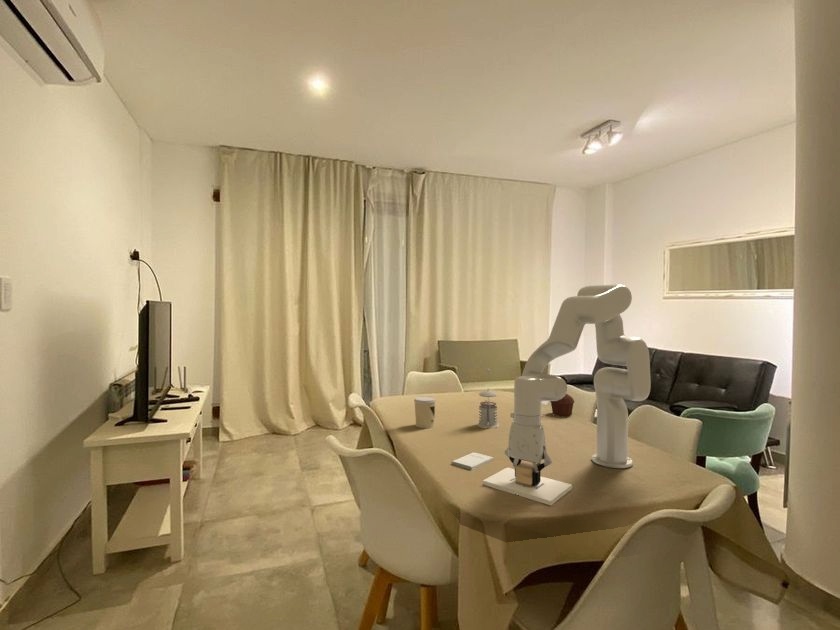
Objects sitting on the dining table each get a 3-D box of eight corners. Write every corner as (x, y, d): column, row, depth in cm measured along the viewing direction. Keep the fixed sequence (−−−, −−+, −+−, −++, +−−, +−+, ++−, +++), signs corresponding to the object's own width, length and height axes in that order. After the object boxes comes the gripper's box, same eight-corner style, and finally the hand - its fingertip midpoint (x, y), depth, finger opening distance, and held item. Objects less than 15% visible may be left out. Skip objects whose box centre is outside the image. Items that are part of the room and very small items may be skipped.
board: (507, 471, 140) (507, 467, 140) (572, 488, 126) (572, 484, 126) (483, 484, 129) (482, 480, 129) (551, 505, 116) (551, 500, 116)
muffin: (573, 412, 218) (573, 392, 218) (576, 417, 207) (576, 396, 207) (548, 411, 221) (548, 391, 221) (549, 416, 210) (549, 395, 210)
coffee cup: (435, 428, 189) (435, 400, 189) (413, 428, 189) (413, 400, 189) (435, 423, 198) (435, 396, 198) (414, 423, 198) (414, 396, 198)
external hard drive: (451, 465, 146) (473, 456, 156) (471, 471, 141) (492, 461, 150) (451, 461, 146) (472, 451, 156) (471, 466, 141) (492, 456, 150)
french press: (499, 422, 198) (499, 367, 198) (499, 429, 187) (499, 371, 187) (477, 421, 200) (477, 366, 200) (476, 428, 189) (476, 370, 188)
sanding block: (525, 476, 131) (524, 460, 131) (539, 480, 129) (539, 463, 128) (515, 483, 127) (515, 466, 127) (530, 487, 124) (530, 470, 124)
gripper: (495, 417, 130) (495, 479, 130) (550, 427, 119) (549, 494, 119) (507, 412, 136) (507, 471, 136) (561, 421, 125) (561, 486, 125)
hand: (527, 481), depth 128 cm, fingers closed on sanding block, 4 cm apart
